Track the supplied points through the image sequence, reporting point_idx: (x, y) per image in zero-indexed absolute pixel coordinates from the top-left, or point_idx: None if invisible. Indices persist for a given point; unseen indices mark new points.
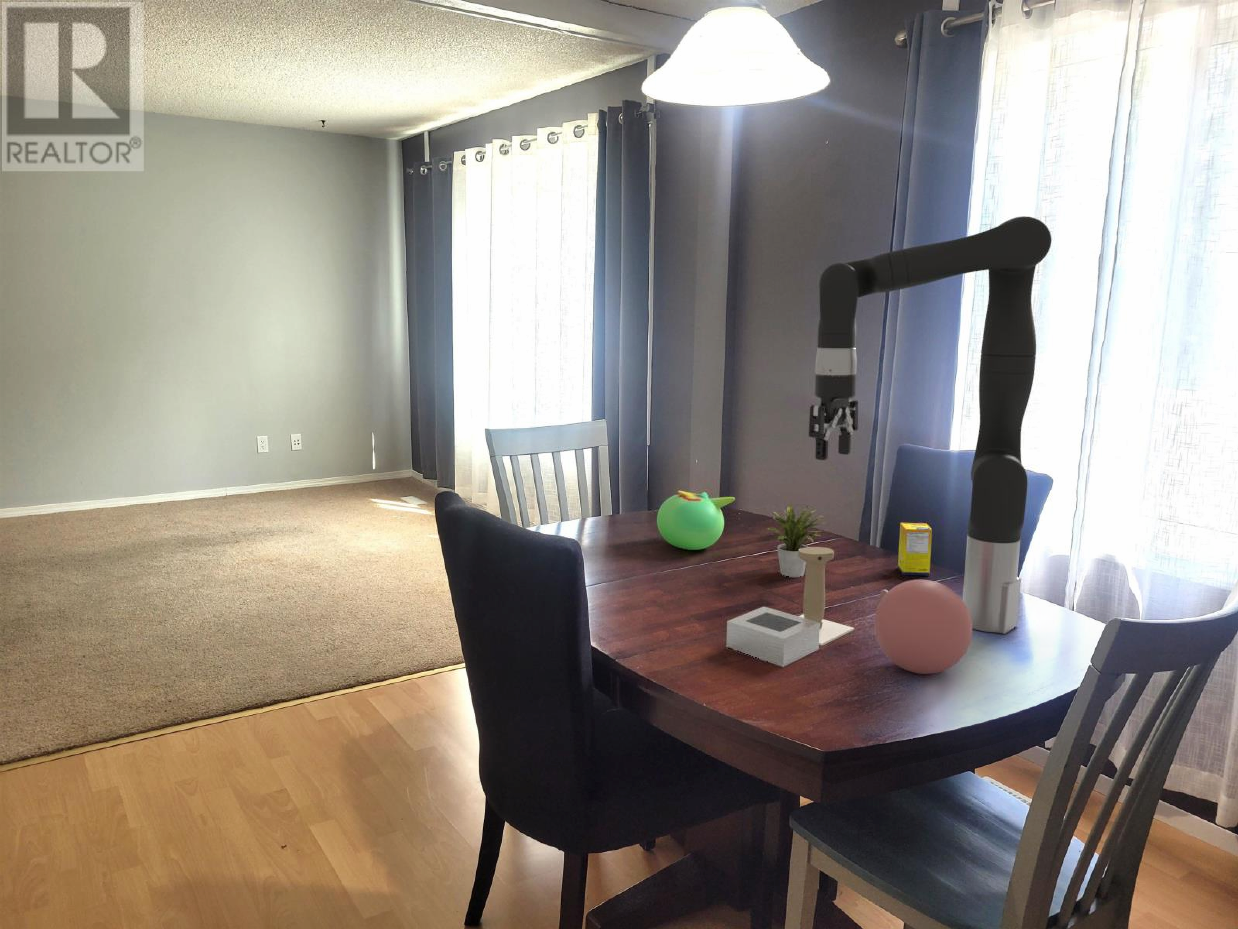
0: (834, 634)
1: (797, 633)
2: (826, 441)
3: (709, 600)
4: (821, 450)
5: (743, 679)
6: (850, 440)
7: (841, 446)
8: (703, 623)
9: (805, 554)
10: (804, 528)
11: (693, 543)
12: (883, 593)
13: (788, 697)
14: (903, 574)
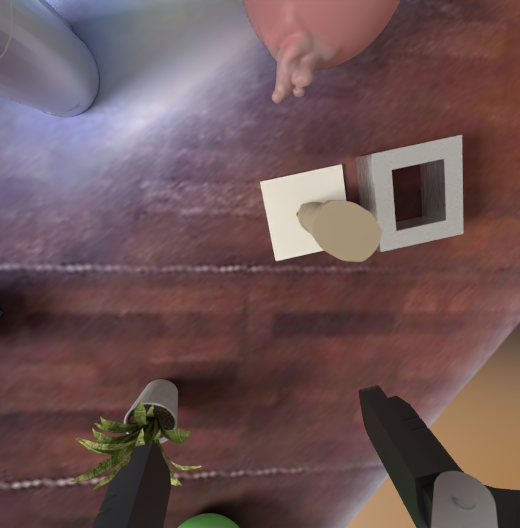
0: (302, 179)
1: (428, 142)
2: (433, 468)
3: (332, 364)
4: (424, 427)
5: (496, 141)
6: (108, 521)
7: (157, 507)
8: (397, 305)
9: (379, 228)
10: (112, 451)
11: (228, 520)
12: (313, 72)
13: (501, 65)
14: (1, 312)
